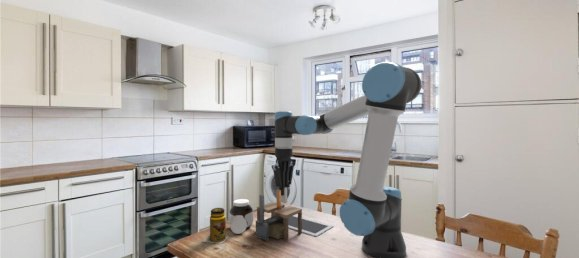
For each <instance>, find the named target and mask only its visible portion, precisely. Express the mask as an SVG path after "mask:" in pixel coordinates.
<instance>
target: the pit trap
mask: <svg viewBox="0 0 579 258" xmlns="http://www.w3.org/2000/svg"><path fill="white" fill-rule="evenodd" d="M333 228H334V225H331V224H328V223H324V222H321V221H317V220H315V219H314V220H313V219H309V218H307V217H303V216H302V234H306V235H310V236H311V237H315V238H318V237H319V236H321V235H322V234H323V233H326V232H328V231H329V230H331V229H333ZM288 229H290V230H293V231H297V232H298V215H297V214H296V215H293V216H291V217H289V218H288Z"/></svg>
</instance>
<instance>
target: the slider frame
mask: <svg viewBox="0 0 579 258" xmlns="http://www.w3.org/2000/svg"><path fill="white" fill-rule="evenodd" d="M258 198H259V200H258V201H259V204H258V205H259V206H258V207H259V211H260V221H258V220H257V219H256V221H255V237H256V238H259V239H260V240H263V241H266V242H267V241H268V240H269V236H268V224H269V223H272V222H274V221H276V222H279V223H282V224H284V218H283V217H280V216H276V215H273V217H271V216H270V217H268V218H266V219H265V212H264V204H265V194H260V195H259V197H258ZM276 203H277V210H279V209H282V208H281V204H282V202H281V190H280V189H276ZM277 210H276V211H277Z"/></svg>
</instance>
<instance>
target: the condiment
mask: <svg viewBox="0 0 579 258" xmlns="http://www.w3.org/2000/svg"><path fill="white" fill-rule="evenodd" d="M225 214H226V213H225V209H224V208H223V207H215V208H212V209H211V210H210V216H209V234H208V235H207V236H206V237H205V238H204V239H203V240H202V241H201V242H202V243H210V244H223V243H224V242H226V240H227V239H228V238H229V236H230V235H229V234H228V235H227V234H226V229H227V228H226V227H227V226H226V225H227V223H226V220H227V219H226V218H227V217H226V215H225Z"/></svg>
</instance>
